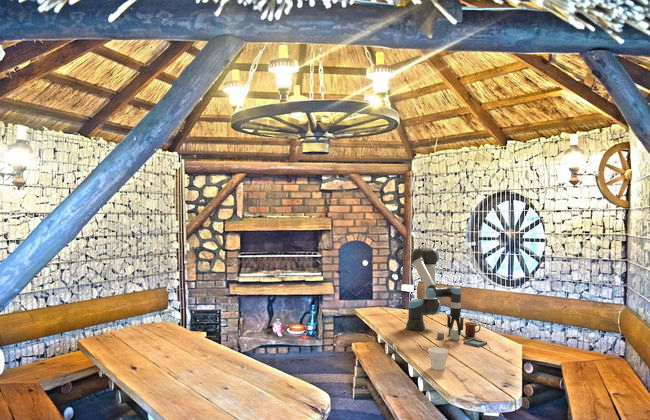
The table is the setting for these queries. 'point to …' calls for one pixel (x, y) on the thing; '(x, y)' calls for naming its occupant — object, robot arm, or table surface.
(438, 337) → the rubber puck
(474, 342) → the tray
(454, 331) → the sage brick
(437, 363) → the cup
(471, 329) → the mug
